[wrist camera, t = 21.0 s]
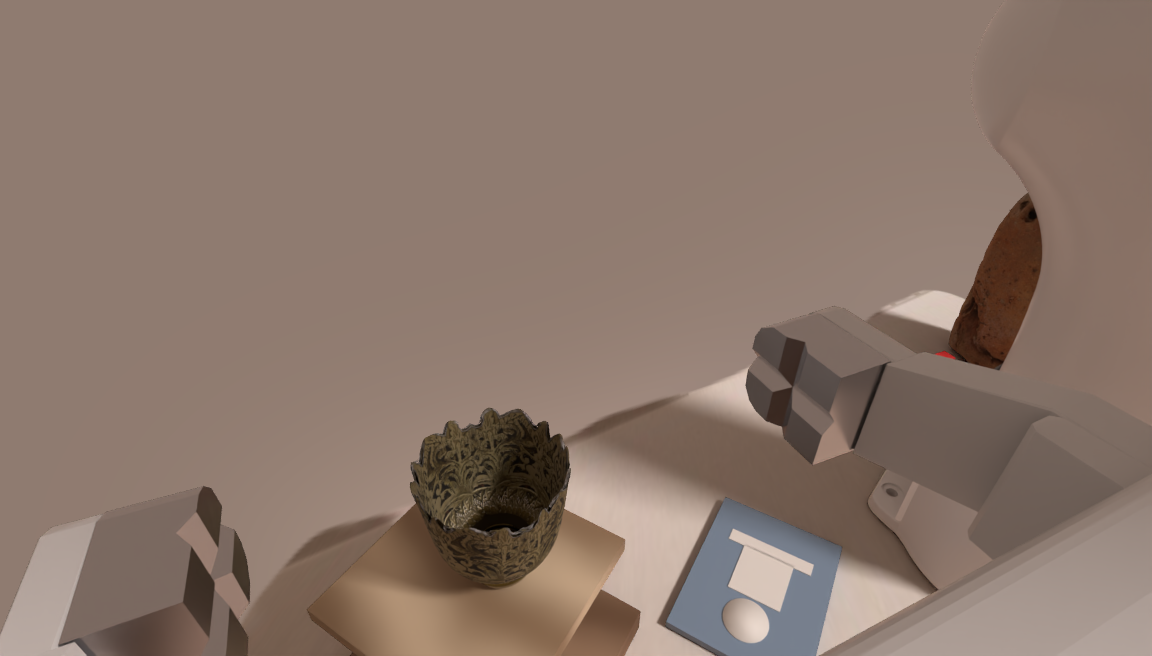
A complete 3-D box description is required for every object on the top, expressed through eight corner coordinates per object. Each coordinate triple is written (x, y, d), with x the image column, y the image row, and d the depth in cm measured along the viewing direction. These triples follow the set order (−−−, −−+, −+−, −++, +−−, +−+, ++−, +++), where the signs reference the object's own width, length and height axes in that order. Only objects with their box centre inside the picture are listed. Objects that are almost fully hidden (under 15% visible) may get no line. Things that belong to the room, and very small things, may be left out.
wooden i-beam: (476, 534, 44) (460, 442, 38) (638, 627, 38) (648, 534, 32) (326, 706, 34) (276, 616, 28) (514, 869, 28) (498, 794, 22)
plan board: (724, 501, 46) (725, 496, 46) (840, 551, 43) (842, 546, 42) (665, 626, 38) (666, 620, 38) (803, 703, 34) (805, 697, 34)
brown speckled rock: (1073, 382, 59) (1187, 199, 48) (1033, 405, 56) (1145, 216, 45) (970, 331, 67) (1048, 163, 56) (930, 349, 64) (1004, 176, 53)
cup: (451, 656, 27) (428, 554, 22) (419, 534, 32) (395, 432, 28) (593, 595, 29) (598, 492, 25) (540, 491, 35) (536, 392, 30)
